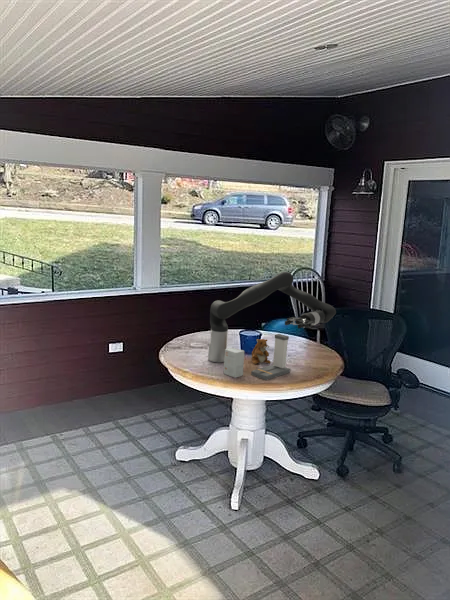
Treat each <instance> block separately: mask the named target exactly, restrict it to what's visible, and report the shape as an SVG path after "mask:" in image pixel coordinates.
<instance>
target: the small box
mask: <svg viewBox="0 0 450 600" xmlns="http://www.w3.org/2000/svg"><path fill="white" fill-rule="evenodd" d="M244 362H245V350H243V349H240V348H235V347H230V348H227V349H225V358H224V362H223V374H224V375H227V376H229V377H232V378H239V377H242V376H244V365H245V363H244Z"/></svg>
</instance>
